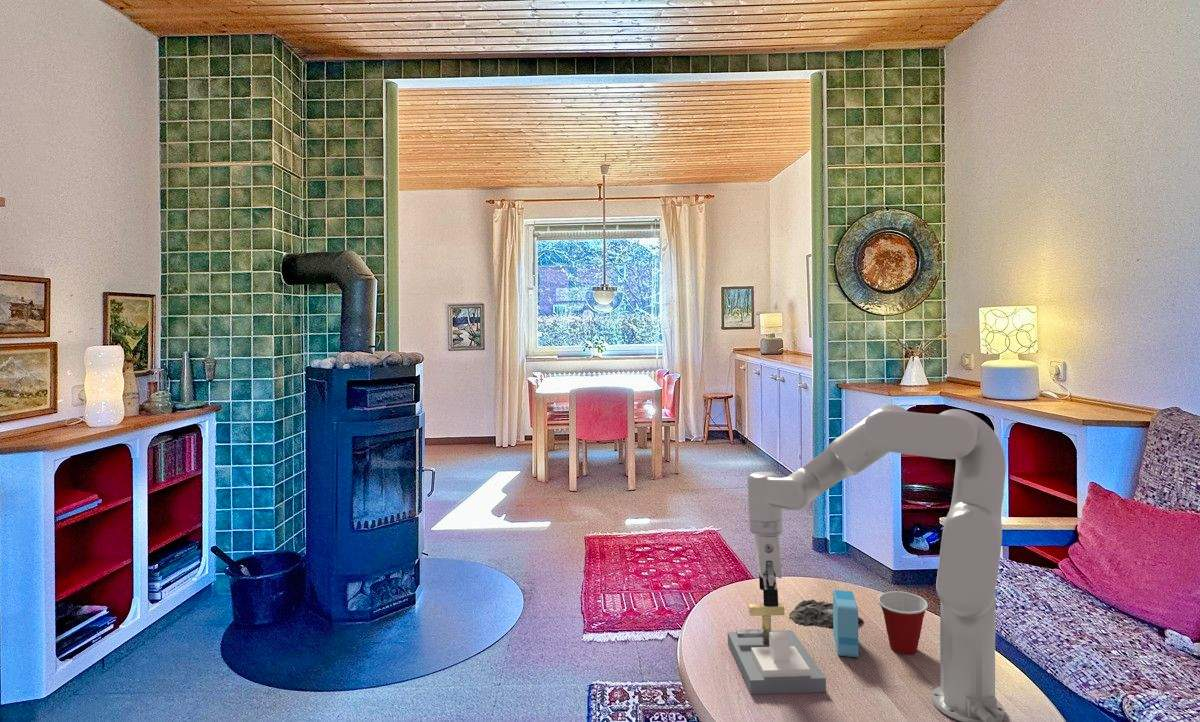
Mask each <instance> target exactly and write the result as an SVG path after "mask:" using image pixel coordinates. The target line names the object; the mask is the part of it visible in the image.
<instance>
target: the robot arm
mask: <svg viewBox="0 0 1200 722" xmlns="http://www.w3.org/2000/svg"><path fill="white" fill-rule="evenodd" d="M889 453H894V454H895V453H896V454H903V455H910V456H919V457H926V458H934V459H941V460H942V459H945V460H955V467H954V469H955V470H954V471H955V472H954V478H953V489H952V497H951V503H950V507H949V511H948V512H947V515H946V516H945V521H944V524H943V528H942V533H941V541H940V550H939V558H938V564H937V565H938V566H937V574H936V575H937V576H936V580H935V581H936V583H935V588H936V594H937V597H938V598H939V600H940V606H939V607H940V610H939V611H940V616H939V617H940V620H939V621H940V624H939V630H940V631H939V632H940V633H939V639H940V640H939V641H940V642H939V643H940V644H939V645H940V647H939V649H940V650H939V651H940V652H939V653H940V654H939V655H940V661H939V662H940V666H939V667H940V668H939V669H940V671H939V672H940V675H939V676H940V678H939V679H940V686H937V687H936V688H934V690H932V693H931V700H932V701H931V702H932V703H933V705H934V706H935V708H937V710H939V711H940V712H941V713H943V714H944V715H946V716H948V717H950V718H951V719H954V720H956V721H959V722H1003V721H1004V719H1005V714H1006V713H1005V708H1004V706H1003V705H1002V703H1001V702H1000V701H998V699H997V698H996V598H997V597H996V594H997V593H996V591H997V581H998V575H999V566H1000V560H1001V553H1002V552H1001V551H1002V545H1003V544H1002V543H1003V542H1002V541H1003V526H1002V512H1003V511H1002V509H1003V502H1004V493H1005V483H1006V482H1005V479H1006V457H1005V452H1004V449H1003V445H1002V443H1001V441H1000V439H999V437H998V436H997V433H996V432H995V431H994V430H993V428H991V426H989V425H988V424H987V423H986V422H985V421H984V420H982V419H981V418H980V417H979V416H977V415H975V414H974V413H971V412H969V411H967V410H964V409H958V408H956V409H955V408H952V409H948V410H944V411H942V412H940V413H937V414H936V413H926V412H924V413H923V412H915V411H908V410H907V409H905V408H904V407H902V406H901V405H896V404H886V405H882V406H880V407H878V408H877V409H874V411H872V412H871V413H870V414H869V415H867V416H866V417H864V418H863V419H861V420H860V421H859V422H857V423H856V424H854V425H853V426H852V427H851V428H850V429H848V430H846V431H844V433H842V434H841V435H839V436H838V437H837V438H835V439H834V440H832V442H830V443H829V445H828V446H827V448H825V449H824V450H823V451H822V452H821V453H820V454H818V455H817V456H815V457H814V458H812V459H811V460H810V461H809V462H807V463H806V464H804V465H803V466H801V467H800V468H799V469H797V470H796V471H794V472H792V473H791V474H789V475H788V476H784V477H780V475H778V474H777V473H775V472H770V471H757V472H752V473H751V474H749V476H748V477H747V494H748V495H747V497H748V498H747V499H748V517H749V520H748V521H749V522H748V524H749V532H750V534H753V535H754V540H755V541H754V545H755V559H756V565H757V570H758V580H759V590H761V591H762V595H763V604H764V606H767V607H777V606H778V603H779V589H778V586H777V585H778V584H777V578H778V579H782V577H783V574H782V573H783V572H782V559H781V547H780V544H781V543H780V538H779V536H780V535H782V534H783V512H782V511H783V510H782V509H784V510H787V511H794V512H795V511H796V512H797V511H801V510H803V509H805V508H806V507H808V505H810V504H811V503H812V502H813V501H814V500H815V499H816V498H819V496H821V495H822V494H823V493H825V492H826V491H828V490H829V489H831V488H832V487H833V486H835V485H837V484H838V483H839V482H841V481H843V480H844V479H846V478H848V477H851V476H856V475H858V474H859V473H861V472H863V471H865V469H867V468H868V467H870V466H872V465H873V464H875V463H876V462H877V461H879V460H880V459H882V458H883V457H884V456H886V455H887V454H889Z"/></svg>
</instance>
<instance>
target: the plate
mask: <svg viewBox="0 0 1200 722" xmlns="http://www.w3.org/2000/svg"><path fill="white" fill-rule="evenodd" d="M771 632H785V633H786V634H787V636H788V637H789V639H790V646H795V648H796V649H797V651H798V652H799V654H800V655H801V656H802V658H803V659H804V661H805V662H806V664H807V665H808V667H809V668H810V676H796V677H763V676H762V674H761V672H760V670H759V668H758V666H757V664H756V662H755V660H754V658H753V656H752V654H751V648H752V647H769V644H765V643H763V642H762V637H757V638H738V637H737V634H736V631H727V645H728V648H729V650H730V652H731V654H732V656H733V658H734V661H735V663H736V665H737V667H738V669H739V671H740V674H741V676H742V678H743V680H744V682H745V684H746V687H747V690H748V691H749V694H750V695H773V694H776V695H777V694H804V693H805V694H807V693H808V694H809V693H826V692H827V679H826V676H825V675H824V674H823V672H822V670H821V669H820V668H819V666H818V665H817V664H816V662H815V661H814V659H813V657H811V655H810V653H809V652H808V651H807V650H806V648H805V646H804V645H803V644H802V642H801V641H800V639H799V637H797V635H796V634H795V631H793V630H792V629H787V630H785V629H784V630H771Z"/></svg>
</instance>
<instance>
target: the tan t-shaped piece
mask: <svg viewBox="0 0 1200 722" xmlns="http://www.w3.org/2000/svg"><path fill="white" fill-rule="evenodd" d="M747 606H748V607H747V608H748V614H749V615H750V616H752V617H755V616H756V617H761V626H762V627H761V628H758V629H756V628H755V629H736V630H735V632H736V634H737V637H738V638H757V637H762V642H763V643H765V644H769V632H771V631H772V616H785V611H786V610H785V606H784V604H783V603H782V602H778V606H777V607H767V606H764V603H748V605H747Z"/></svg>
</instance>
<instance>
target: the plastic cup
mask: <svg viewBox="0 0 1200 722" xmlns="http://www.w3.org/2000/svg"><path fill="white" fill-rule="evenodd" d="M877 600H878V604H879V605H880V607H881V610H882V614H883V618H884V623H885V628H886V633H887V636H888V637H887V638H888V642H889V643H888V644H889V647H890V649H891V650H892V651H893V652H895V653H898V654H901V655H907V656H908V655H909V656H910V655H913V654H916V653H917V651H918V648H919V642H920V638H921V632H922V627H923V622H924V618H925V613H926V611H927V609H928V606H929V605H928V602H927V600H925V598H923V597H922V596H919V595H918V594H915V593H911V592H906V591H899V590H897V591H896V590H893V591H886V592H884V593H881V594H880V595H879V596H878V597H877Z"/></svg>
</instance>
